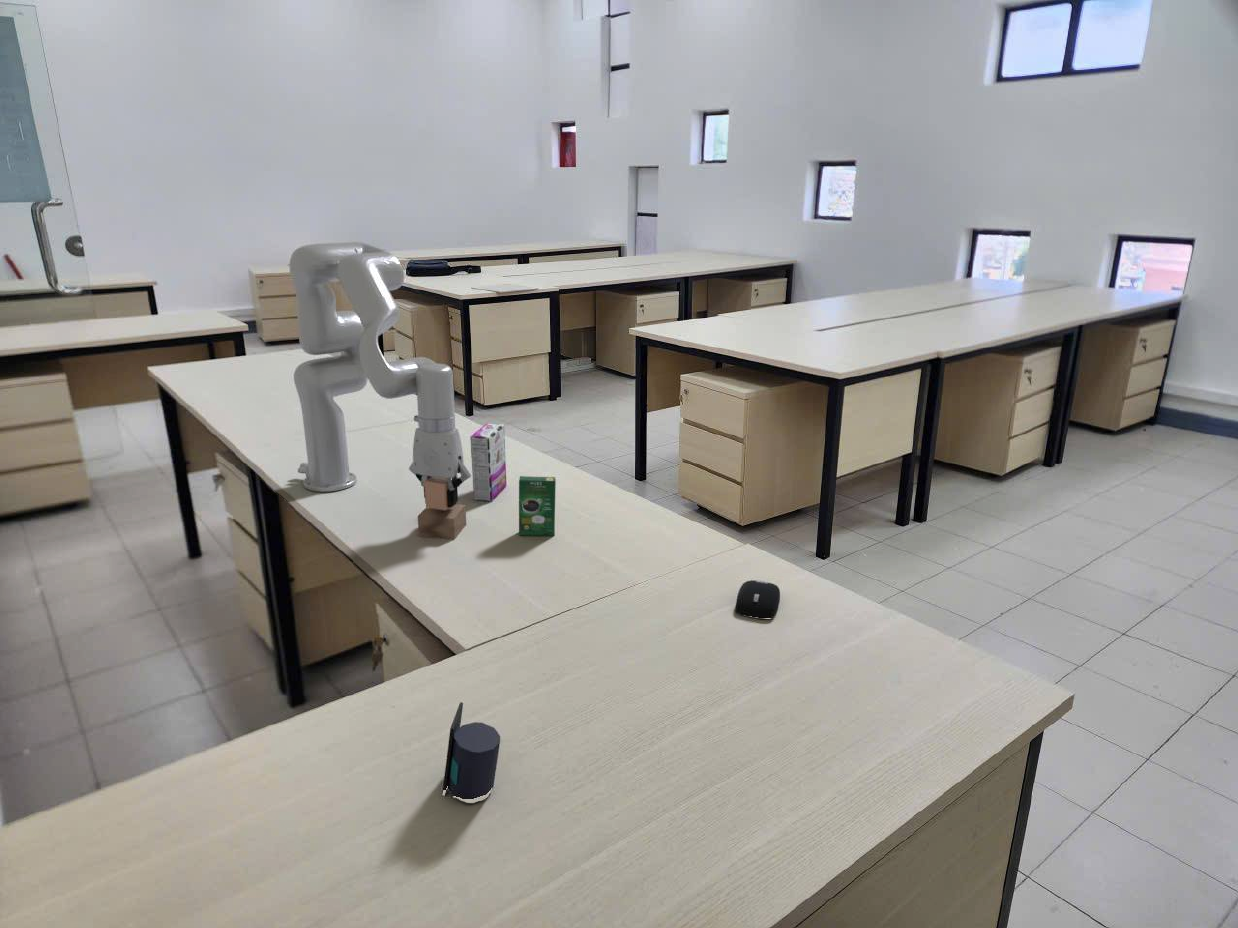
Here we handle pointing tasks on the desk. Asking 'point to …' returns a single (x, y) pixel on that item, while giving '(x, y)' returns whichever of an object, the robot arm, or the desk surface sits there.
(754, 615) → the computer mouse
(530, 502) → the coffee box
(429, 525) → the walnut block
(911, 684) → the desk surface
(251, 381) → the desk surface
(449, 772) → the speaker
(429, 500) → the peach-colored cube
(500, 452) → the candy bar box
